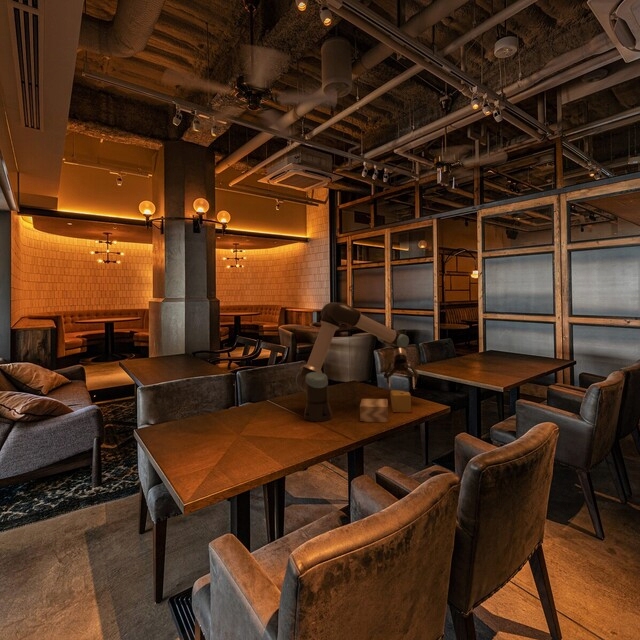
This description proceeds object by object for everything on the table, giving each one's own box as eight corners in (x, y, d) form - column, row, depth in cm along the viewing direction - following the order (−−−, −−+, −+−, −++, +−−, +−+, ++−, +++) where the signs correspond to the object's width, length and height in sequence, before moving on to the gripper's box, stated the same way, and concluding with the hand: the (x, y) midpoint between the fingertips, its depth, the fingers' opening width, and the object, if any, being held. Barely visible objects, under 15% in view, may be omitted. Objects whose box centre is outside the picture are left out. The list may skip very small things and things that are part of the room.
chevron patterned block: (360, 421, 192) (359, 406, 191) (362, 412, 206) (361, 398, 205) (387, 422, 189) (387, 406, 189) (388, 413, 203) (387, 399, 203)
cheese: (409, 407, 213) (408, 389, 213) (411, 413, 203) (411, 395, 202) (390, 407, 214) (390, 390, 214) (392, 413, 204) (391, 395, 203)
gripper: (421, 360, 228) (423, 391, 215) (379, 360, 233) (379, 390, 219) (421, 353, 223) (424, 384, 209) (379, 353, 227) (379, 384, 214)
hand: (401, 387), depth 214 cm, fingers open, 13 cm apart
